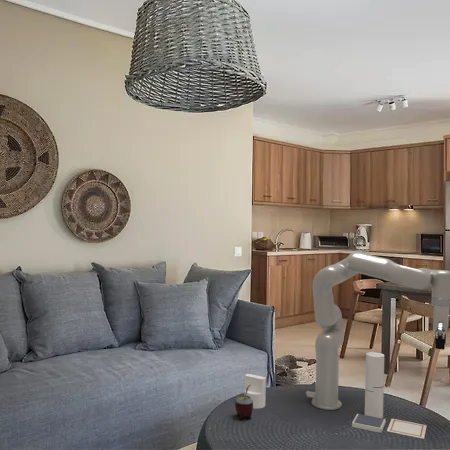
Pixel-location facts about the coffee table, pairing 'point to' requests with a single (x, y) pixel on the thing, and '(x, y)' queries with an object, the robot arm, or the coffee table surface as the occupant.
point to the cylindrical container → (374, 384)
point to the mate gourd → (244, 406)
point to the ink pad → (369, 423)
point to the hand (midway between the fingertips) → (440, 346)
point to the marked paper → (407, 428)
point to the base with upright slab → (256, 390)
